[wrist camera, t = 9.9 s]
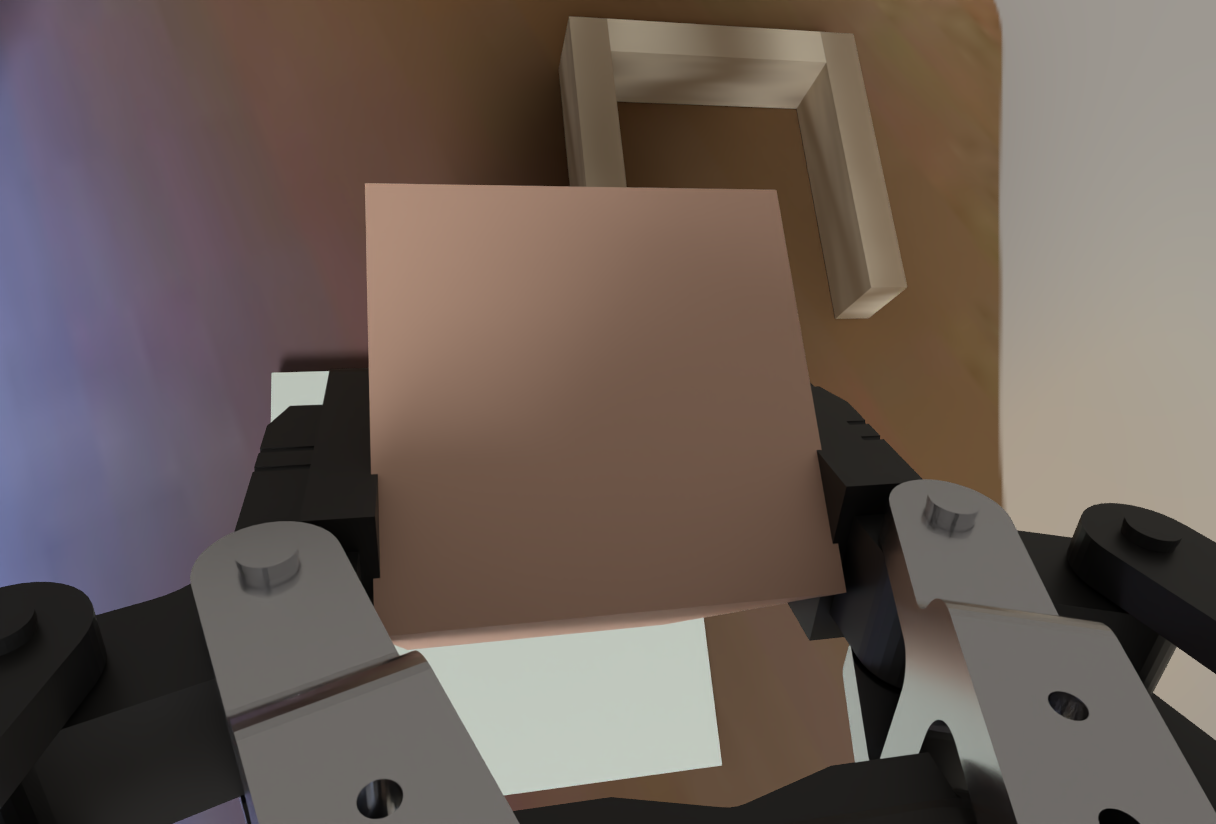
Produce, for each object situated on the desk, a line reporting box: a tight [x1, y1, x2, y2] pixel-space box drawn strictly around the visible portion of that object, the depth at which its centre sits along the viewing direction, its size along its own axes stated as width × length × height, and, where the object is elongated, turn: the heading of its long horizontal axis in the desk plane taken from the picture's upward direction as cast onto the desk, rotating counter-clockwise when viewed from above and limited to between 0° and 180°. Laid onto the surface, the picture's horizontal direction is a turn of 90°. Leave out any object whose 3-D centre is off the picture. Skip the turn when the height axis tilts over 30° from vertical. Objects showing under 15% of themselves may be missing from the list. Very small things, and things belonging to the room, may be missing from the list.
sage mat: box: [271, 371, 722, 795], centre depth 28 cm, size 14×14×1 cm
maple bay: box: [559, 16, 907, 319], centre depth 33 cm, size 12×12×3 cm
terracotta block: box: [365, 183, 846, 650], centre depth 13 cm, size 5×5×8 cm
